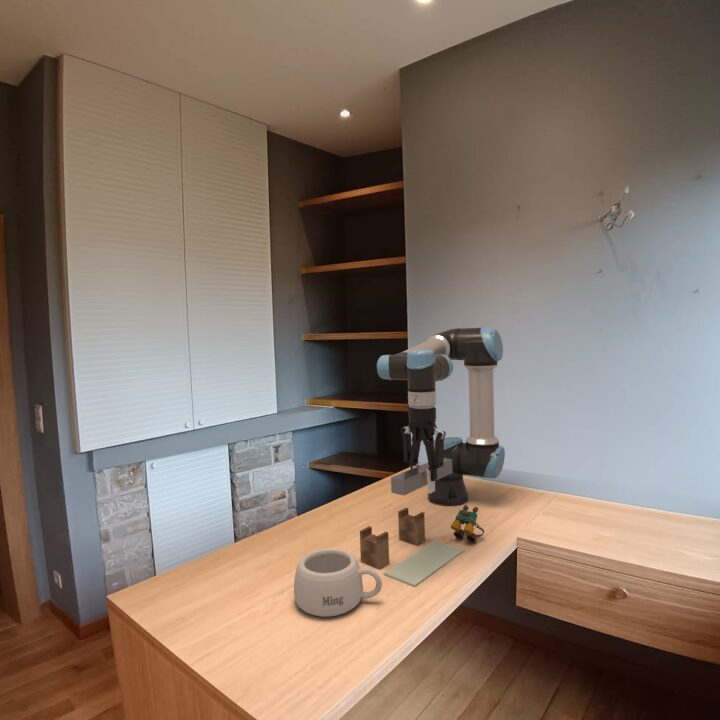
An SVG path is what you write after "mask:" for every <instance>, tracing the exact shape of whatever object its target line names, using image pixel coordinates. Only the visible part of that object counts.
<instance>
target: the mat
mask: <svg viewBox="0 0 720 720" xmlns="http://www.w3.org/2000/svg"><path fill="white" fill-rule="evenodd" d="M464 552H465V549H464V548H461V547H457V546H454V545H451V544H448V543H445V542H442V541H439V540H436V539H435V540H433V541H432V542H430V543H429V544H427V545H425V546H424V547H422V548H420V549H419V550H417V551H416V552H414V553H413V554H411V555H410V556H408V557H407V558H405V559H403V560H402V561H400V562H398V563H397V564H395V565H394V566H392V567H391V568H389V569H387V571H385V572H383V575H384V576H386V577H389V578H391V579H394V580H396V581H399V582H401V583H404V584H406V585H409V586H411V587H415V588H416V587H417V586H418V585H420V584H422V583H423V582H425V580H426V579H428V578H430V577H431V576H432V575H434V574H435V573H436V572H438V571H439V570H441V569H442V568H443V567H444V566H446V565H447V564H448V563H450V562H451V561H453V560H455V558H457V557H458V556H459V555H460V554H462V553H464Z"/></svg>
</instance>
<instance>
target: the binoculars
mask: <svg viewBox="0 0 720 720" xmlns="http://www.w3.org/2000/svg"><path fill="white" fill-rule="evenodd" d="M469 508H470V507H469V506H468V505H466V504H463V507H462V509H460V510H459V511H458V512H457V515H456V516H455V519H454V520H453V521H452V523H451V524H450V528H451V530H453V531H454V532H453V536H454V537H455V538H456V539H457V540H461V541H462V540H463V539H464V537H465V538H466V540H467V541H468V542H469V543H471V544H475V543H477V539H478V537H479V538H480V537H483V535H484V533H485V530H484V528H483V527H481V526H480V525H479V524H478V523H477V519H478V511H479V506H478V507H477V506H474V507H473V508H472V510H471V511H469ZM462 525H464V527H463V529H462V528H461V527H462ZM475 528H477V529H479V530H480V531H482V533H481V534H476V533H474V531H475ZM465 535H466V536H465Z"/></svg>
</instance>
